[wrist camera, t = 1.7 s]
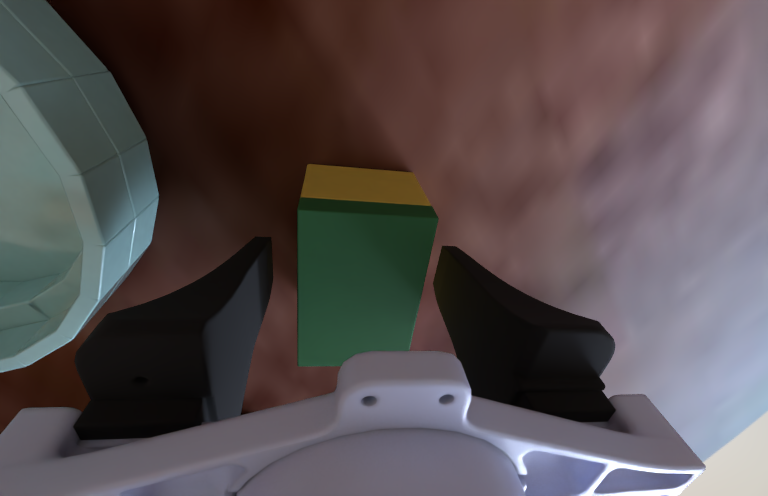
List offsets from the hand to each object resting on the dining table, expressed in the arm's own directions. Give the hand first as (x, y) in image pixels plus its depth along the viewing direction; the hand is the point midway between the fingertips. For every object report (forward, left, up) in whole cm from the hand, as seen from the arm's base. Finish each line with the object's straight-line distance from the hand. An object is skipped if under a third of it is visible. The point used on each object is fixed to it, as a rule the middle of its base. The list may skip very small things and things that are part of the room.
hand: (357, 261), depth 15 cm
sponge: (0, 0, -2) cm, 2 cm away
